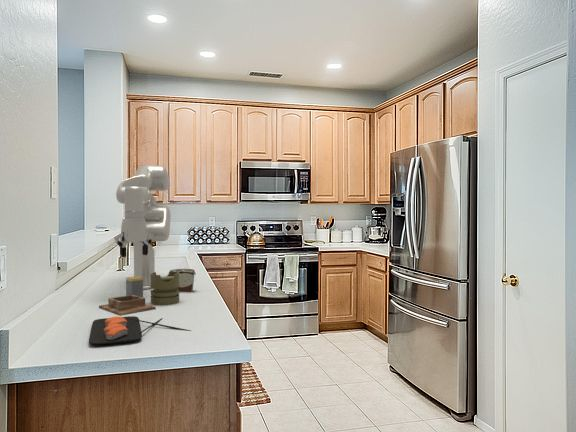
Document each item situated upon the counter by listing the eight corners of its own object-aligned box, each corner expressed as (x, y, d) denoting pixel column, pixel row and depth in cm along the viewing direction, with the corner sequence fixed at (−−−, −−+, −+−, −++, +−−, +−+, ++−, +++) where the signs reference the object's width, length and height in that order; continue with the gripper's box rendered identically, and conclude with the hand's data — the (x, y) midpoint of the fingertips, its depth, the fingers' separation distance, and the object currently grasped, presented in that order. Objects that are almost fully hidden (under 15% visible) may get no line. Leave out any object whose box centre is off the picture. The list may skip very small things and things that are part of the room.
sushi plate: (93, 324, 153) (93, 313, 153) (183, 317, 164) (183, 306, 164) (88, 350, 126) (87, 337, 126) (196, 339, 137) (196, 326, 136)
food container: (199, 290, 212) (199, 268, 212) (195, 292, 206) (195, 270, 206) (173, 289, 214) (173, 268, 213) (169, 292, 207) (168, 270, 207)
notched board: (98, 307, 176) (98, 297, 176) (132, 302, 186) (132, 292, 186) (120, 315, 164) (120, 304, 164) (155, 308, 174) (155, 299, 174)
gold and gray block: (126, 298, 193) (126, 277, 193) (137, 296, 197) (137, 276, 197) (132, 300, 190) (131, 278, 189) (143, 298, 193) (142, 277, 193)
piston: (182, 274, 183) (153, 276, 178) (182, 303, 183) (153, 306, 178) (175, 270, 193) (148, 272, 188) (175, 298, 193) (148, 301, 188)
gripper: (148, 215, 201) (148, 253, 202) (110, 215, 189) (110, 256, 189) (157, 215, 196) (157, 254, 196) (118, 216, 183) (119, 258, 184)
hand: (134, 255), depth 193 cm, fingers open, 9 cm apart
